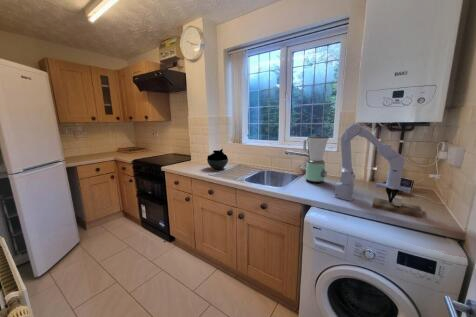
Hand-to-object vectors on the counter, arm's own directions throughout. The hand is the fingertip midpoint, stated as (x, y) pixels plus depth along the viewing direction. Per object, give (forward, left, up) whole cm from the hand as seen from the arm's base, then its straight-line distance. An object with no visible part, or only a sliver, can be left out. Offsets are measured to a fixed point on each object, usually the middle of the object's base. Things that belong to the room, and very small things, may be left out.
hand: (390, 202), depth 106 cm
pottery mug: (+1, +31, -3) cm, 31 cm away
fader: (+3, 0, -1) cm, 3 cm away
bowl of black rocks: (-132, +6, -3) cm, 133 cm away
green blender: (-47, +22, -3) cm, 52 cm away
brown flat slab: (+3, 0, -3) cm, 4 cm away
